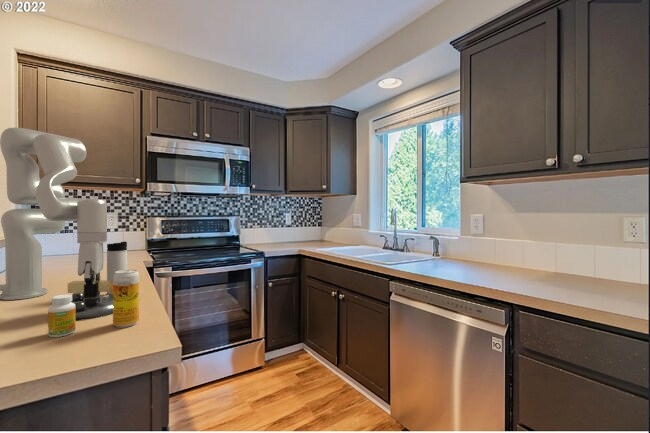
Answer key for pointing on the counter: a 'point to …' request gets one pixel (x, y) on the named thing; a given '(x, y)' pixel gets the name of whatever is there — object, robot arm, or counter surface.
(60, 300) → the supplement bottle
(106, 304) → the base
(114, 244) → the travel mug
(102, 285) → the orange-tipped wooden plank
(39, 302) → the counter surface
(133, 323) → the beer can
